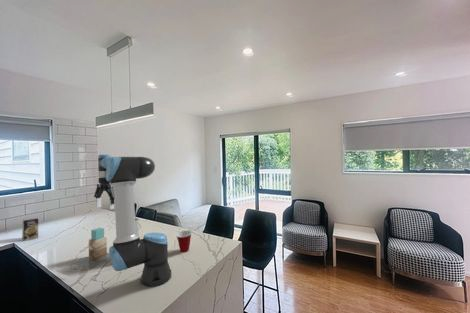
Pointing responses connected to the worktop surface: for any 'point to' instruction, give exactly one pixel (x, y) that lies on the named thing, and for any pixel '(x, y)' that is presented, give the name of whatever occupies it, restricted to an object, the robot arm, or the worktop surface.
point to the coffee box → (30, 229)
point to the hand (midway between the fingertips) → (105, 208)
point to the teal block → (97, 233)
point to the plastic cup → (184, 240)
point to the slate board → (92, 262)
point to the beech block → (97, 244)
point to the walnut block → (98, 254)
